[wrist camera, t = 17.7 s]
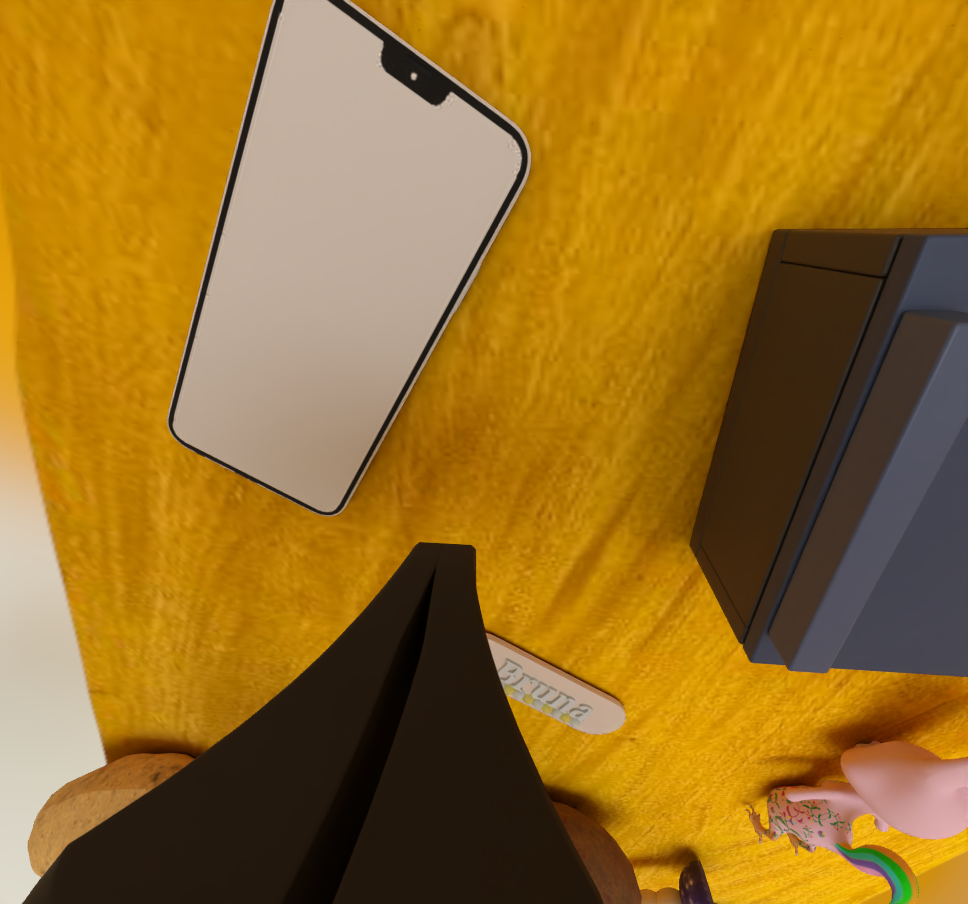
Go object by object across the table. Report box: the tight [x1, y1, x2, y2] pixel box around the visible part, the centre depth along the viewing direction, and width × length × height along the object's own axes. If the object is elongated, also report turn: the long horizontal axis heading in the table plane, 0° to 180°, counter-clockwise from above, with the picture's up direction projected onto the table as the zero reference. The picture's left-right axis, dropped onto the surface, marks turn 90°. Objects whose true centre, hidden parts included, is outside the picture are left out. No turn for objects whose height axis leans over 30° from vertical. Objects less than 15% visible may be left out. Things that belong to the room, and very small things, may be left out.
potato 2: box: [552, 801, 642, 904], centre depth 26 cm, size 7×12×7 cm
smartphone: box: [167, 0, 531, 516], centre depth 14 cm, size 7×1×15 cm
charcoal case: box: [690, 228, 968, 644], centre depth 13 cm, size 12×12×5 cm
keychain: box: [486, 633, 626, 734], centre depth 22 cm, size 10×1×3 cm
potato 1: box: [28, 753, 194, 877], centre depth 27 cm, size 7×11×6 cm, turn 108°
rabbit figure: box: [745, 740, 968, 904], centre depth 21 cm, size 6×6×15 cm
